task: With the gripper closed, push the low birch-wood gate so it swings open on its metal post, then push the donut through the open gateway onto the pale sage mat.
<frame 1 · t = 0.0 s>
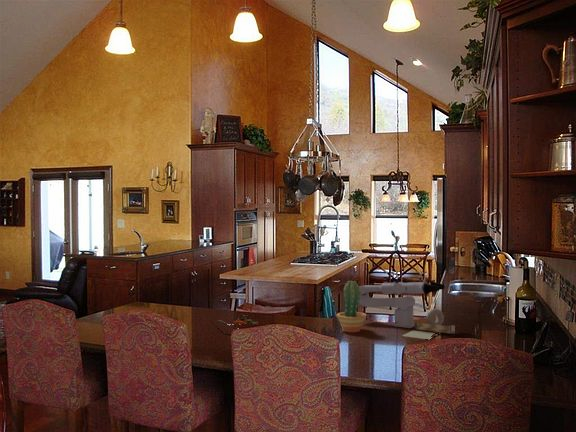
hand: (441, 287, 269), 22 cm above the kitchen counter, tool horizontal, fingers open, 7 cm apart
potted cactus: (351, 330, 273), on the kitchen counter
donut: (435, 328, 275), on the kitchen counter
mat: (421, 335, 260), on the kitchen counter
gate: (432, 327, 266), point 2 cm above the kitchen counter, hinge at 0.0°
gate post: (452, 334, 260), on the kitchen counter
chopping board: (241, 326, 288), on the kitchen counter
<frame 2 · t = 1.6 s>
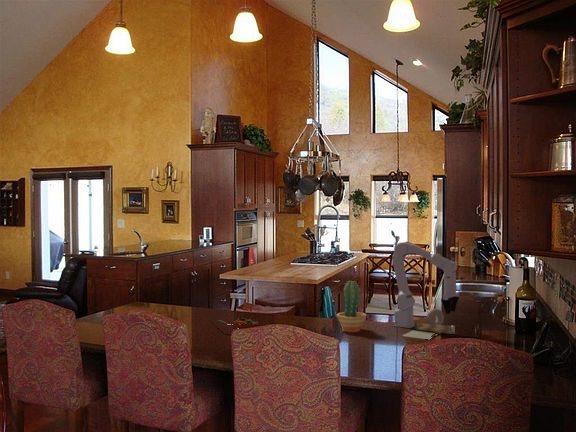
hand: (450, 312, 267), 9 cm above the kitchen counter, tool pointing down, fingers open, 7 cm apart
nothing on the kitchen counter moved.
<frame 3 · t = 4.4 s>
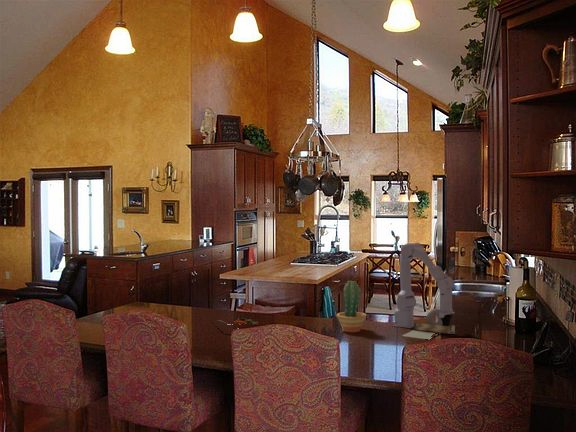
hand: (446, 329, 262), 2 cm above the kitchen counter, tool pointing down, fingers closed, pressing on gate
gate: (431, 327, 265), point 2 cm above the kitchen counter, hinge at 3.4°, touching gripper
everything else where it was.
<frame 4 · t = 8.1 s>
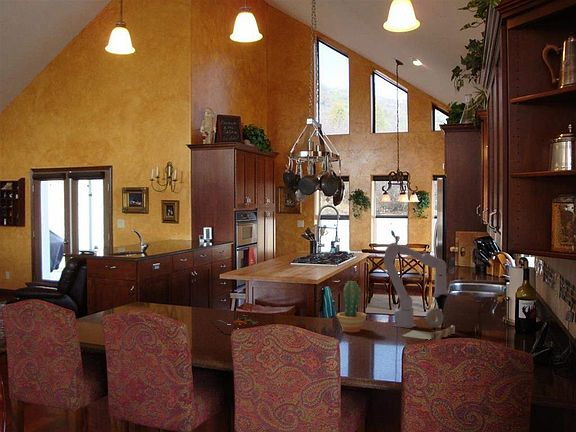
hand: (440, 309, 276), 9 cm above the kitchen counter, tool pointing down, fingers closed
gate: (442, 333, 252), point 2 cm above the kitchen counter, hinge at 81.0°
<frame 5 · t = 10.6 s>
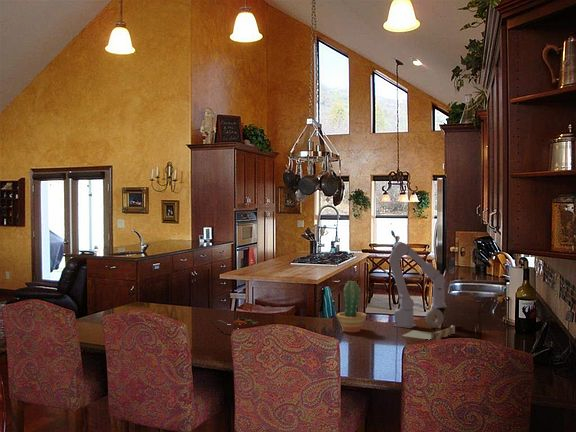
hand: (439, 322, 279), 2 cm above the kitchen counter, tool pointing down, fingers closed
donut: (434, 328, 275), on the kitchen counter, touching gripper
everything else where it was.
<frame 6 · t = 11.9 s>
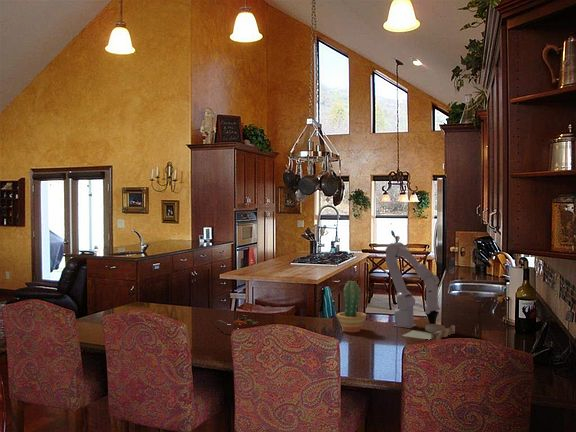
hand: (432, 325, 272), 2 cm above the kitchen counter, tool pointing down, fingers closed, pressing on donut
donut: (434, 326, 270), point 2 cm above the kitchen counter, touching gripper
everything else where it was.
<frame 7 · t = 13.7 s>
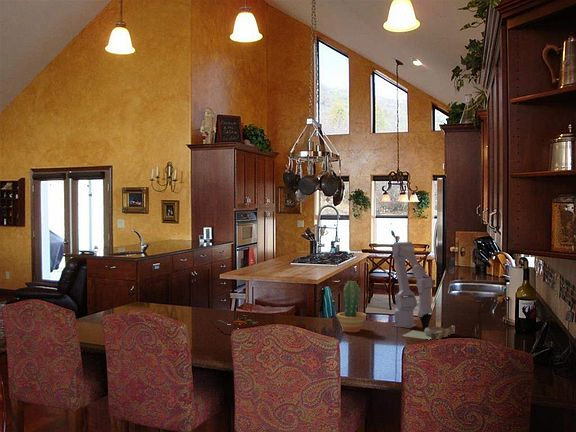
hand: (425, 329, 264), 2 cm above the kitchen counter, tool pointing down, fingers closed, pressing on donut
donut: (428, 329, 263), point 2 cm above the kitchen counter, touching gate, gripper, mat
gate: (442, 333, 252), point 2 cm above the kitchen counter, hinge at 81.1°, touching donut
everything else where it was.
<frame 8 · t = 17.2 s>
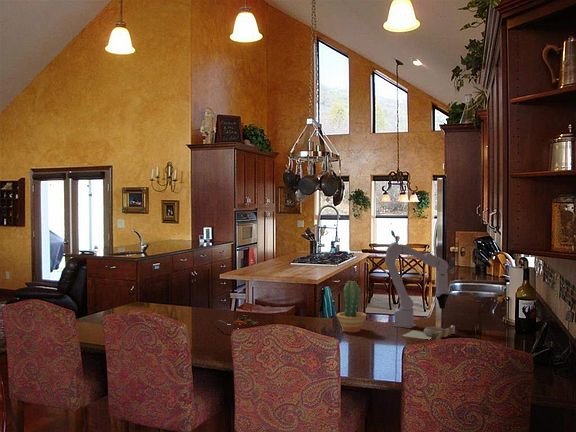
hand: (442, 308, 278), 9 cm above the kitchen counter, tool pointing down, fingers closed
donut: (427, 329, 263), point 2 cm above the kitchen counter, touching mat
gate: (442, 333, 252), point 2 cm above the kitchen counter, hinge at 81.4°
everything else where it was.
at the end: gate at +81° (first picture: +0°); donut inside the target area (5.3 cm from its centre), point 1.9 cm above the kitchen counter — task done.
